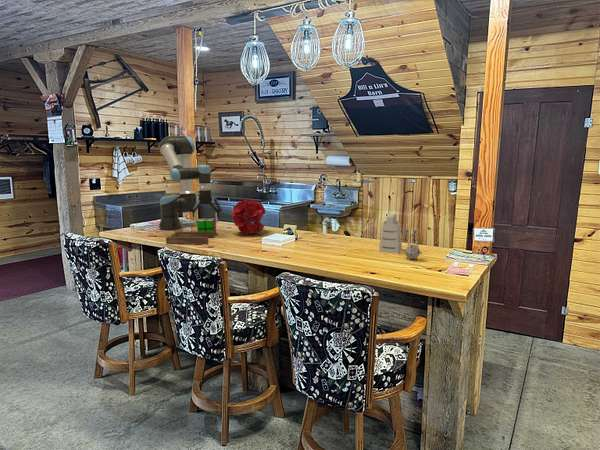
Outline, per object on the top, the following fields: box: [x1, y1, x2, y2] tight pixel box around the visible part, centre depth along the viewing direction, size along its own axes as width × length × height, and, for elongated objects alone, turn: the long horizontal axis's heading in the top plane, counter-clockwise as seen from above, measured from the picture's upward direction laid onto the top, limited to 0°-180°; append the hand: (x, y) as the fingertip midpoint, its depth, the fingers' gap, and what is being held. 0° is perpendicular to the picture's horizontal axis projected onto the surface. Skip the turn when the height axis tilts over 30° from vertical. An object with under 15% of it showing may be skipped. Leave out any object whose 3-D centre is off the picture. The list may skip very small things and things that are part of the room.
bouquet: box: [230, 198, 267, 235], centre depth 286 cm, size 22×24×30 cm
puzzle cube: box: [196, 217, 217, 235], centre depth 278 cm, size 10×10×10 cm
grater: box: [378, 213, 403, 254], centre depth 233 cm, size 10×10×20 cm
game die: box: [402, 243, 422, 261], centre depth 215 cm, size 9×8×10 cm
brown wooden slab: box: [165, 231, 215, 246], centre depth 262 cm, size 19×24×4 cm
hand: (206, 222), depth 278 cm, fingers open, 13 cm apart
